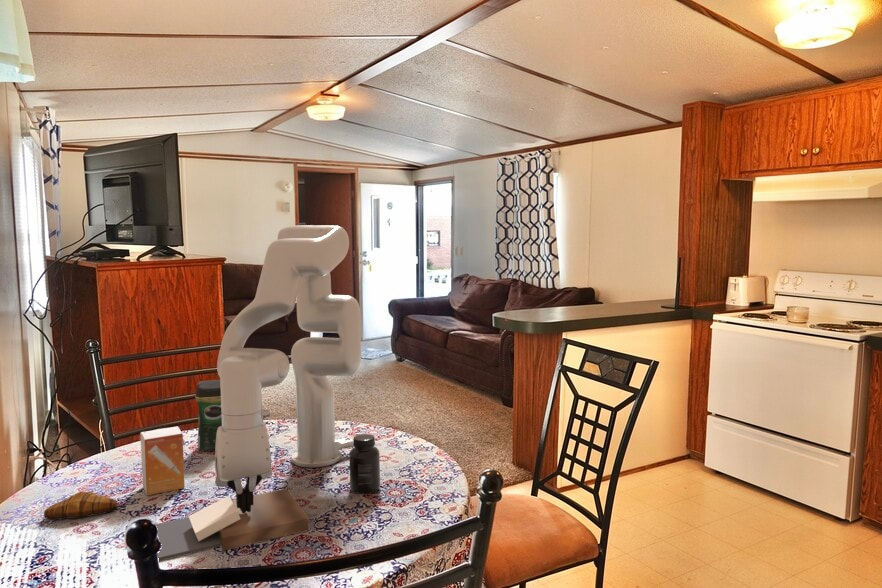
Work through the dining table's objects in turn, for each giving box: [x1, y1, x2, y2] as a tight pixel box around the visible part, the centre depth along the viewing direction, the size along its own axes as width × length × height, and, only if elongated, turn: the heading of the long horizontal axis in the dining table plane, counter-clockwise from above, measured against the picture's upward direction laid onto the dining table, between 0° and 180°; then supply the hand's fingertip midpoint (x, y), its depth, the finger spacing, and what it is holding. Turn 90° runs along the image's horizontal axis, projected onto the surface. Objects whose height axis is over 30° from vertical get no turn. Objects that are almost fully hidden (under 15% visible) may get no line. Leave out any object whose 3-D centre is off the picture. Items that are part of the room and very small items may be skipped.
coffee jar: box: [195, 379, 222, 452], centre depth 164 cm, size 10×8×19 cm
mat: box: [155, 516, 222, 562], centre depth 116 cm, size 12×14×1 cm
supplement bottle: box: [348, 433, 381, 495], centre depth 138 cm, size 7×7×12 cm
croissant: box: [43, 491, 119, 520], centre depth 125 cm, size 14×7×5 cm, turn 107°
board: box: [208, 488, 310, 552], centre depth 122 cm, size 16×16×2 cm
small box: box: [139, 426, 185, 497], centre depth 138 cm, size 8×6×13 cm
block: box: [188, 495, 240, 541], centre depth 117 cm, size 8×8×2 cm
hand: (245, 509), depth 120 cm, fingers closed
